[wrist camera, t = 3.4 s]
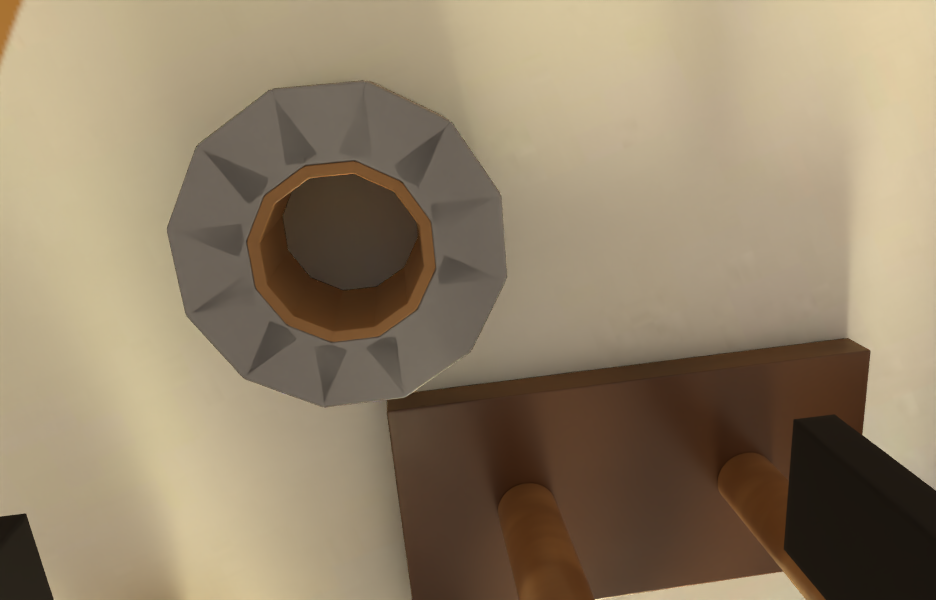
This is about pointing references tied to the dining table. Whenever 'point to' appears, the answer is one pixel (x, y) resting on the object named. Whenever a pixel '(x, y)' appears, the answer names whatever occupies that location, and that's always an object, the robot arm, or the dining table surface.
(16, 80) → the dining table surface
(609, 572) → the peg rack
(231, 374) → the dining table surface
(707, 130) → the dining table surface
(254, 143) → the duct tape
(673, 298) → the dining table surface
